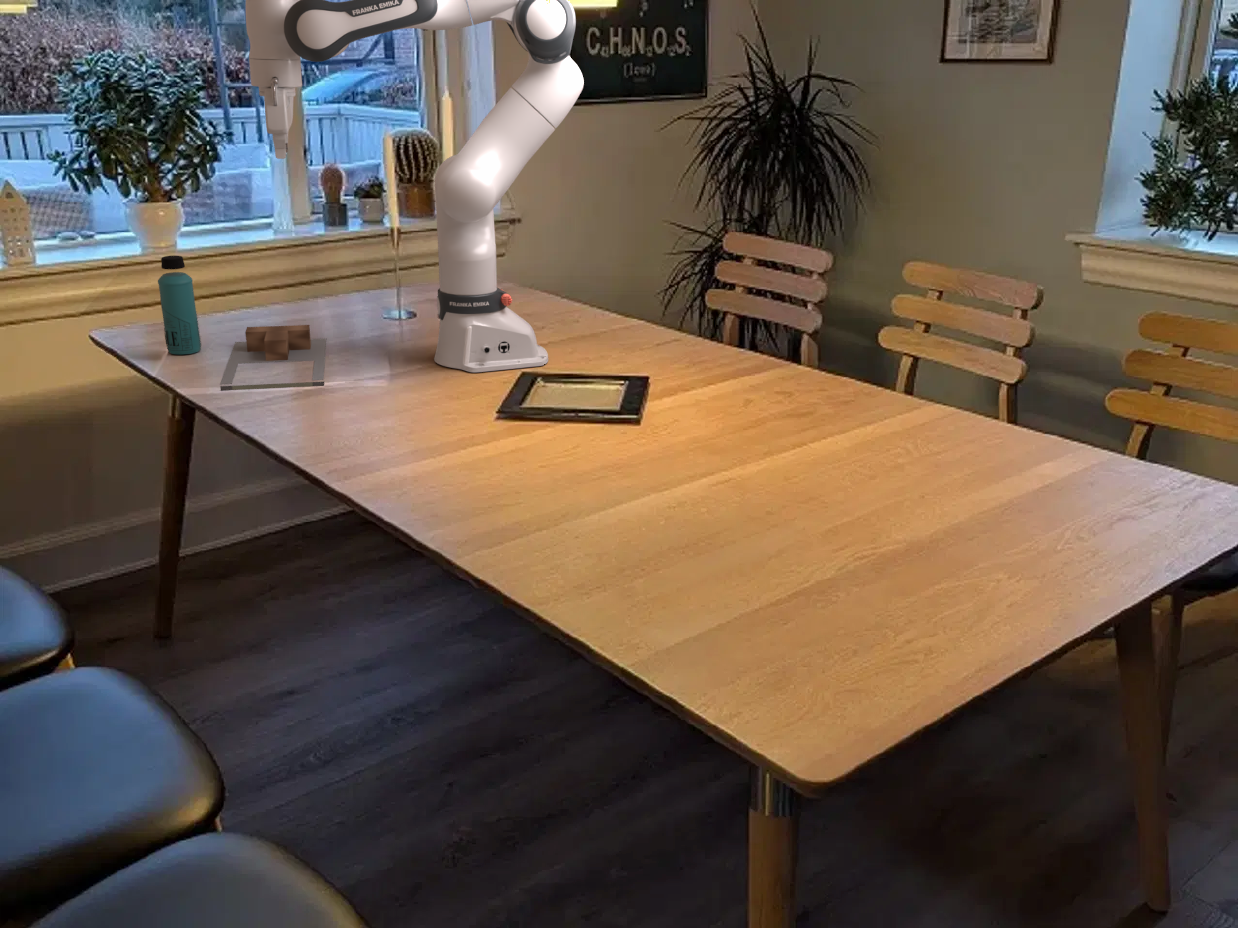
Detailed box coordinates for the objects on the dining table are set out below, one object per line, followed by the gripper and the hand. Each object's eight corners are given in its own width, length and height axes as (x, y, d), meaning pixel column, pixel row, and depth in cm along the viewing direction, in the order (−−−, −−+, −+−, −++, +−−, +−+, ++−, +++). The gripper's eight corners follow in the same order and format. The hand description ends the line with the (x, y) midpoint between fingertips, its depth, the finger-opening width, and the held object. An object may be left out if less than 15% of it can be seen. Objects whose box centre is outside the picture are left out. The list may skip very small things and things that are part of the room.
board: (327, 344, 230) (326, 338, 230) (324, 385, 204) (323, 379, 203) (235, 347, 226) (235, 341, 226) (220, 390, 200) (220, 384, 200)
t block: (311, 344, 225) (309, 324, 224) (309, 359, 215) (307, 339, 214) (249, 346, 223) (247, 327, 221) (244, 361, 213) (242, 341, 211)
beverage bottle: (208, 353, 222) (196, 253, 214) (193, 363, 216) (180, 260, 208) (177, 352, 222) (164, 252, 215) (161, 361, 216) (147, 258, 209)
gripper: (292, 79, 192) (298, 162, 197) (296, 74, 210) (301, 149, 215) (253, 78, 190) (260, 162, 195) (261, 73, 209) (267, 149, 214)
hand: (282, 155), depth 205 cm, fingers open, 8 cm apart
